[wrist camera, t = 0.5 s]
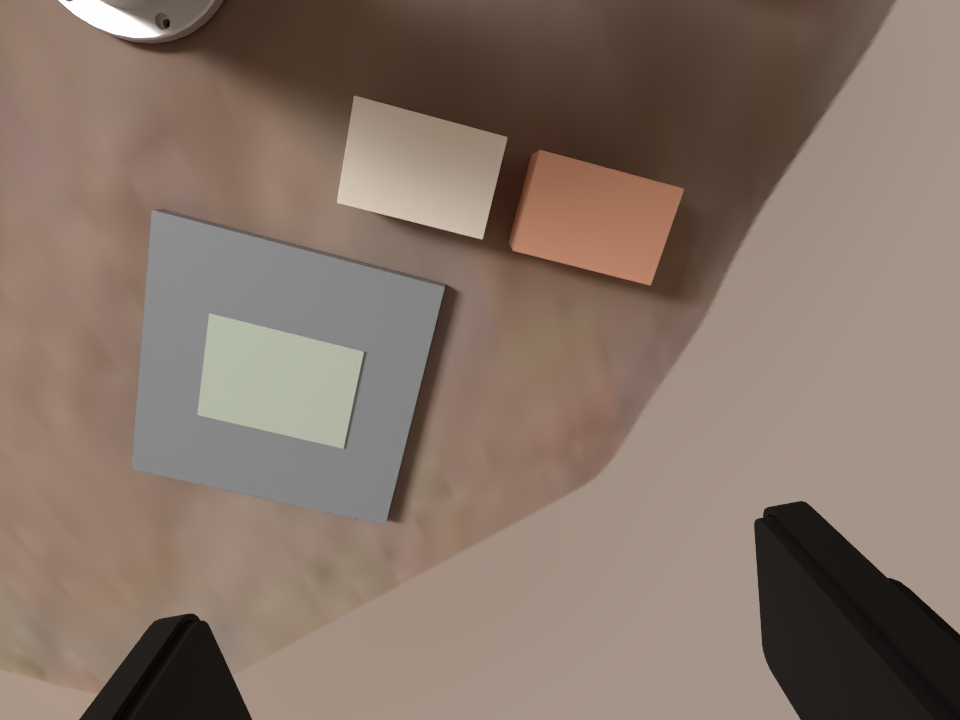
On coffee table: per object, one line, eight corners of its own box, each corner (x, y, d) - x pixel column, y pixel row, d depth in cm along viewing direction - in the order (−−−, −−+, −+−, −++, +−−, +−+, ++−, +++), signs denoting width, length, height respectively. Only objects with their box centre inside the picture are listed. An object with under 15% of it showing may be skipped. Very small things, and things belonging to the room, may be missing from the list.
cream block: (354, 201, 37) (336, 202, 32) (370, 108, 35) (354, 95, 30) (481, 233, 37) (482, 239, 33) (503, 144, 36) (507, 137, 31)
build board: (140, 461, 42) (129, 470, 41) (162, 209, 36) (150, 209, 35) (387, 516, 44) (385, 526, 43) (445, 284, 38) (444, 287, 37)
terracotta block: (508, 243, 38) (513, 250, 33) (531, 155, 36) (539, 149, 31) (628, 273, 38) (650, 285, 34) (656, 188, 37) (684, 188, 32)
